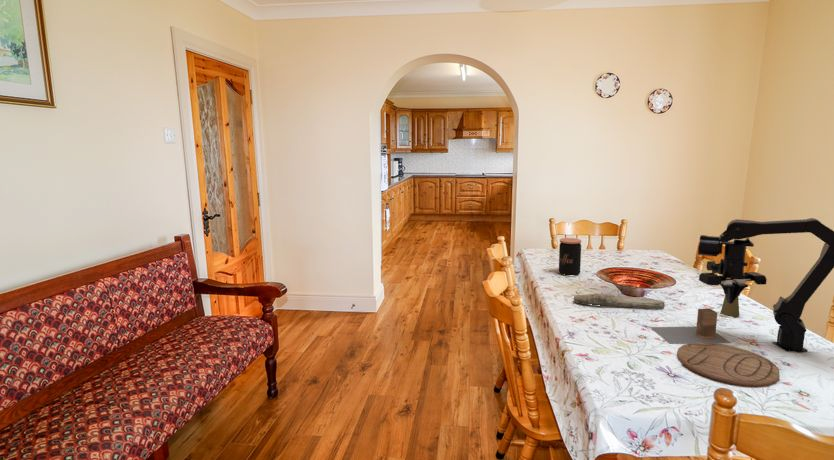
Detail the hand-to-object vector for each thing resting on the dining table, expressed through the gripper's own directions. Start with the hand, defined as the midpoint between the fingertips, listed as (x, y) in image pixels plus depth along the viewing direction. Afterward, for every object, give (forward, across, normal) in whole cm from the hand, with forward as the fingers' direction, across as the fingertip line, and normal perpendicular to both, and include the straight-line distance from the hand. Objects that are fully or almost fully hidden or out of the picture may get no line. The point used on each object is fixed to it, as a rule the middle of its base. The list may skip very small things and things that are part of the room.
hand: (729, 303), depth 149 cm
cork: (+12, -14, -20) cm, 27 cm away
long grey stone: (+13, +23, -33) cm, 42 cm away
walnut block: (+12, +7, 0) cm, 14 cm away
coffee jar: (+12, +29, -80) cm, 86 cm away
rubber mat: (+12, +12, -1) cm, 17 cm away
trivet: (+13, +13, +20) cm, 27 cm away
